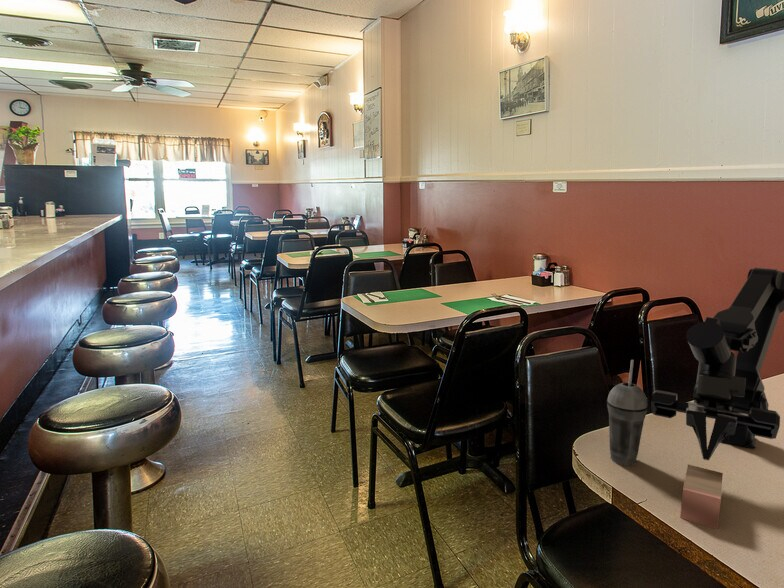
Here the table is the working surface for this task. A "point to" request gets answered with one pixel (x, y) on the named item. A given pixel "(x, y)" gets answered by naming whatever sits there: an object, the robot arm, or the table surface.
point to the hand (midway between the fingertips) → (706, 459)
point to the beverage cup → (626, 420)
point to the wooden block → (702, 496)
